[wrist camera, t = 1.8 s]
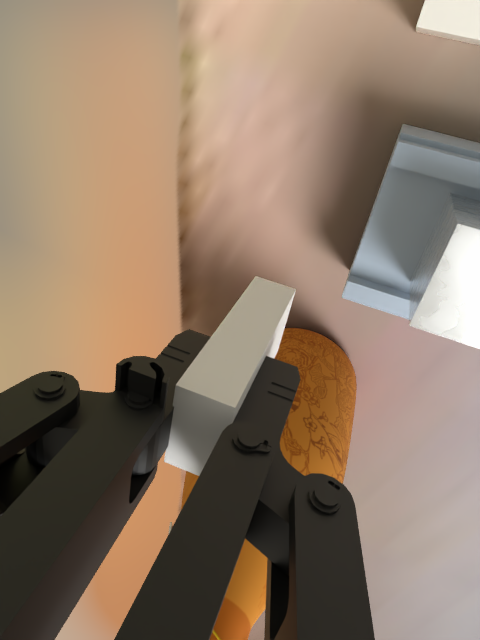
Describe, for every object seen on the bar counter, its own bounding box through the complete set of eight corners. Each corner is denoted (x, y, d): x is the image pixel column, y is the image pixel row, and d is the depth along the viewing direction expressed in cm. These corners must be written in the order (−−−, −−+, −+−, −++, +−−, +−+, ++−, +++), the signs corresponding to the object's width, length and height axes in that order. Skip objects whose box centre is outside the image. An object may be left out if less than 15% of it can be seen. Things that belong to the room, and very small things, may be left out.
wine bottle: (288, 296, 35) (-12, 864, 10) (387, 373, 35) (324, 1091, 11) (224, 369, 41) (-69, 850, 16) (310, 434, 41) (155, 1000, 16)
